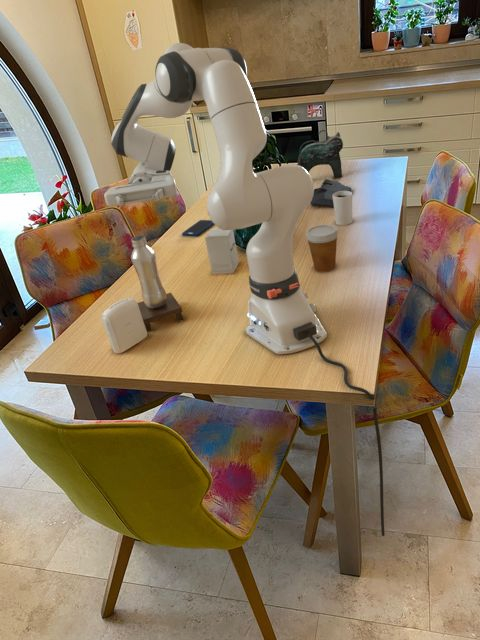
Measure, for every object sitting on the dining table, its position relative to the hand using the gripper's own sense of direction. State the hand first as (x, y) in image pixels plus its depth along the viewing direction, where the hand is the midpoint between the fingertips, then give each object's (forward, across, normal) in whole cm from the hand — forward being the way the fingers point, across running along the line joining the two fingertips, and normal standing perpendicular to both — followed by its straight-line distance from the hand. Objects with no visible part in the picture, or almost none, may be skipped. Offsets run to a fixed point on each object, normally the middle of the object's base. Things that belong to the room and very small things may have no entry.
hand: (138, 201), depth 152 cm
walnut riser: (+12, 0, +30) cm, 32 cm away
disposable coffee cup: (-4, +49, +30) cm, 58 cm away
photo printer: (+24, -7, +30) cm, 39 cm away
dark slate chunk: (-64, +60, +30) cm, 93 cm away
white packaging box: (-14, +19, +30) cm, 38 cm away
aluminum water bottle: (+12, 0, +26) cm, 29 cm away
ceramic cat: (-90, +61, +30) cm, 113 cm away
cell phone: (-53, +9, +30) cm, 62 cm away
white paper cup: (-38, +61, +30) cm, 78 cm away
